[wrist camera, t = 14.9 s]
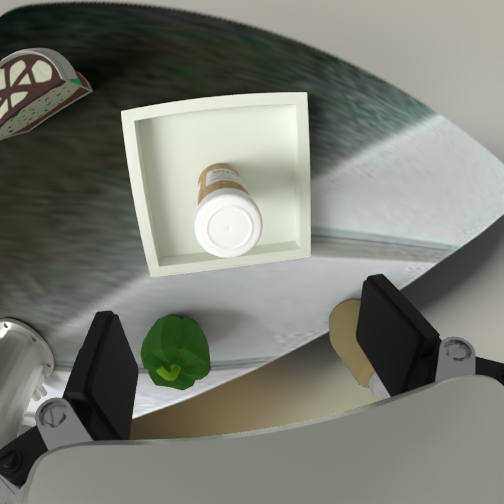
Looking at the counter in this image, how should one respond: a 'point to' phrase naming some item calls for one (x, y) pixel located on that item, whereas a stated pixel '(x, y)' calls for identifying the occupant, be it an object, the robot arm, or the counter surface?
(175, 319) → the bell pepper
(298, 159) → the tray
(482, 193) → the counter surface
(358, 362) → the squeeze bottle
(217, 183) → the sprinkles bottle
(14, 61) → the food container
